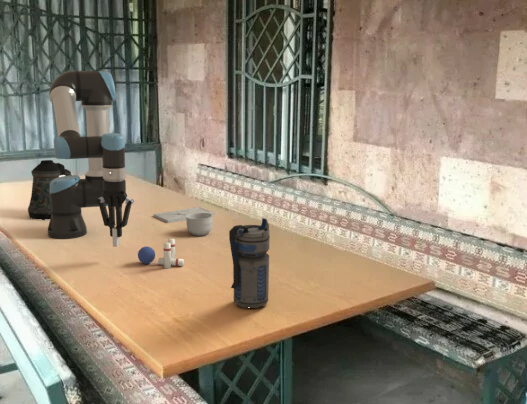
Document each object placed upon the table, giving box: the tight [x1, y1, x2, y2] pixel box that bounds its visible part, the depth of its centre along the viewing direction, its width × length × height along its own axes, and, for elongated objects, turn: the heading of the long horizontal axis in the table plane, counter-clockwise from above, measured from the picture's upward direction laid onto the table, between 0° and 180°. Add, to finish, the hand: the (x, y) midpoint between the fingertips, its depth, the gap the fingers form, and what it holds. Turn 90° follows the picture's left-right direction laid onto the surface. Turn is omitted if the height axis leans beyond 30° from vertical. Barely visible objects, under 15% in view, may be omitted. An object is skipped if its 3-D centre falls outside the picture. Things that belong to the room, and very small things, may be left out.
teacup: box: [185, 212, 214, 237], centre depth 253 cm, size 14×11×8 cm
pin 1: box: [162, 242, 172, 269], centre depth 209 cm, size 2×2×8 cm
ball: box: [137, 246, 156, 265], centre depth 214 cm, size 6×6×6 cm
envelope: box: [153, 206, 216, 224], centre depth 281 cm, size 24×2×14 cm
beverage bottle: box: [228, 217, 271, 309], centre depth 176 cm, size 10×13×25 cm
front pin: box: [157, 257, 185, 267], centre depth 212 cm, size 2×2×8 cm
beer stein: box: [27, 159, 72, 221], centre depth 277 cm, size 16×19×25 cm
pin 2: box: [167, 238, 176, 259], centre depth 214 cm, size 2×2×8 cm
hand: (116, 245), depth 215 cm, fingers closed
